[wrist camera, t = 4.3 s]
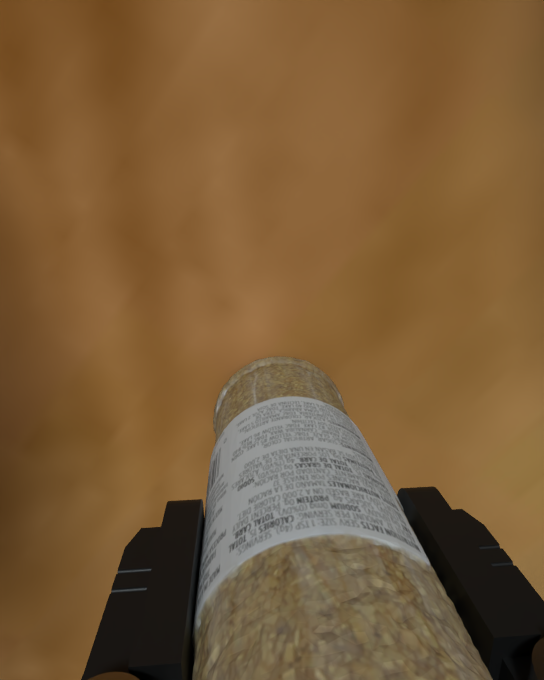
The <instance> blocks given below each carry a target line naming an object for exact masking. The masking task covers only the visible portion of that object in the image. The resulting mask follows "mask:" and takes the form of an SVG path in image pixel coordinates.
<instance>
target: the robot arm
mask: <svg viewBox="0 0 544 680" xmlns="http://www.w3.org/2000/svg"><path fill="white" fill-rule="evenodd" d="M397 497H398V499H399V501H400V503H401V505H402V507H403V510H404V514H405V516H406V518H407V519H408V522H409V525H410V526H411V527H412V529H413V531H414V533H415V535H416V537H417V539H418V541H419V543H420V544H421V546H422V548H423V550H424V552H425V554H426V556H427V558H428V559H429V561H430V564H431V566H432V567H433V569H434V571H435V573H436V575H437V577H438V578H439V580H440V582H441V583H442V585H443V587H444V589H445V591H446V595H447V596H448V597H449V598H450V600H451V601H452V602H453V604H454V606H455V609H456V611H457V613H458V615H459V616H460V618H461V620H462V622H463V625H464V627H465V629H466V630H467V632H468V634H469V636H470V637H471V640H472V643H473V645H474V646H475V648H476V649H477V650H478V652H479V655H480V657H481V660H482V661H483V663H484V664H485V666H486V667H487V669H488V671H489V673H490V675H491V677H492V679H493V680H544V601H543V600H542V598H541V597H540V596H539V594H538V593H537V592H536V591H535V589H534V588H533V587H532V586H531V584H530V583H529V582H528V580H527V579H526V578H525V577H524V575H523V574H522V573H521V572H520V570H519V569H518V568H517V566H514V565H513V561H512V560H511V559H510V557H509V556H508V555H507V554H506V552H505V551H504V550H503V549H500V546H499V543H498V542H497V541H496V540H495V538H494V537H493V536H492V535H491V533H490V532H489V531H488V529H487V528H486V527H485V526H484V525H483V524H482V523H481V522H479V521H478V520H476V519H475V518H474V517H472V516H471V515H469V514H468V513H467V512H465V511H464V510H463V509H456V510H452V509H451V508H450V506H449V505H448V503H447V502H446V501H445V499H444V498H443V496H442V495H441V494H440V492H439V491H438V490H437V489H436V488H435V487H417V488H401V489H400V490H399V491H398V494H397ZM203 527H204V510H203V501H202V499H199V500H181V501H168V502H167V505H166V509H165V513H164V517H163V522H162V526H161V527H153V528H141V529H140V531H139V532H138V533H137V534H136V535H135V537H134V538H133V539H132V540H131V541H130V542H129V544H128V545H127V546H126V547H125V550H124V553H123V556H122V559H121V562H120V565H119V568H118V574H116V577H115V580H114V583H113V586H112V592H111V594H110V595H109V598H108V601H107V604H106V607H105V610H104V613H103V616H102V620H101V623H100V626H99V629H98V632H97V635H96V638H95V641H94V644H93V647H92V650H91V653H90V656H89V659H88V662H87V665H86V668H85V671H84V674H83V676H82V679H81V680H192V674H193V666H194V657H193V645H192V632H193V622H194V613H195V604H196V595H197V586H198V577H199V568H200V558H201V547H202V537H203Z"/></svg>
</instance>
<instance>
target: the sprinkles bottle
mask: <svg viewBox="0 0 544 680" xmlns="http://www.w3.org/2000/svg"><path fill="white" fill-rule="evenodd" d="M213 424H214V431H215V434H216V442H215V447H214V450H213V453H212V456H211V461H210V468H209V477H208V487H207V497H206V507H205V517H204V527H203V537H202V547H201V558H200V568H199V577H198V586H197V595H196V604H195V613H194V622H193V632H192V645H193V657H194V666H193V674H192V680H493V679H492V677H491V675H490V673H489V671H488V669H487V667H486V666H485V664H484V663H483V661H482V660H481V657H480V655H479V652H478V650H477V649H476V648H475V646H474V645H473V643H472V640H471V637H470V636H469V634H468V632H467V630H466V629H465V627H464V625H463V622H462V620H461V618H460V616H459V615H458V613H457V611H456V609H455V606H454V604H453V602H452V601H451V600H450V598H449V597H448V596H447V595H446V591H445V589H444V587H443V585H442V583H441V582H440V580H439V578H438V577H437V575H436V573H435V571H434V569H433V567H432V566H431V564H430V561H429V559H428V558H427V556H426V554H425V552H424V550H423V548H422V546H421V544H420V543H419V541H418V539H417V537H416V535H415V533H414V531H413V529H412V527H411V526H410V525H409V522H408V519H407V518H406V516H405V514H404V510H403V507H402V505H401V503H400V501H399V499H398V497H397V495H396V494H395V492H394V490H393V488H392V486H391V485H390V483H389V481H388V479H387V478H386V476H385V474H384V472H383V471H382V469H381V467H380V465H379V463H378V462H377V460H376V458H375V456H374V455H373V453H372V451H371V449H370V448H369V446H368V444H367V442H366V441H365V439H364V437H363V435H362V434H361V432H360V430H359V429H358V427H357V426H356V425H355V424H354V423H353V421H352V420H351V419H350V418H349V416H348V414H347V412H346V410H345V408H344V404H343V400H342V397H341V395H340V393H339V391H338V389H337V387H336V385H335V384H334V383H333V382H332V380H331V379H330V378H329V377H328V376H327V375H326V374H325V373H324V372H323V371H321V370H320V369H319V368H317V367H316V366H314V365H313V364H311V363H310V362H308V361H305V360H300V359H295V358H292V357H268V358H265V359H260V360H255V361H254V362H252V363H250V364H248V365H246V366H244V367H243V368H242V369H240V370H239V371H238V372H237V373H236V374H234V375H233V376H232V377H231V378H230V379H229V381H228V382H227V383H226V384H225V385H224V387H223V388H222V390H221V392H220V393H219V396H218V399H217V403H216V405H215V409H214V418H213Z"/></svg>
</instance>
